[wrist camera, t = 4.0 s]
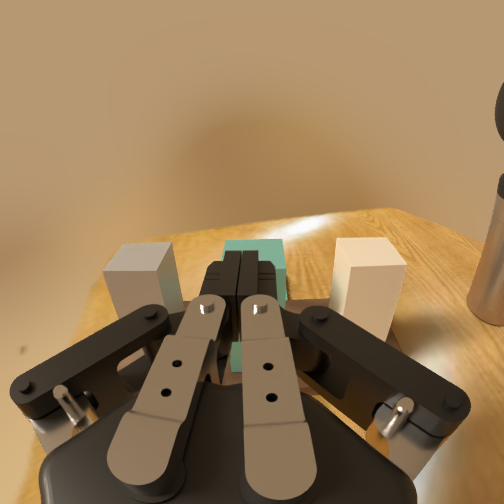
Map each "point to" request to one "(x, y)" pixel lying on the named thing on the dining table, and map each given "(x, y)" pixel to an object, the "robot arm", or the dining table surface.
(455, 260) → the dining table surface
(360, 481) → the robot arm
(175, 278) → the tall grey rectangular prism
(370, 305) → the cream tall rectangular block
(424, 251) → the dining table surface
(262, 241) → the tall teal pillar
